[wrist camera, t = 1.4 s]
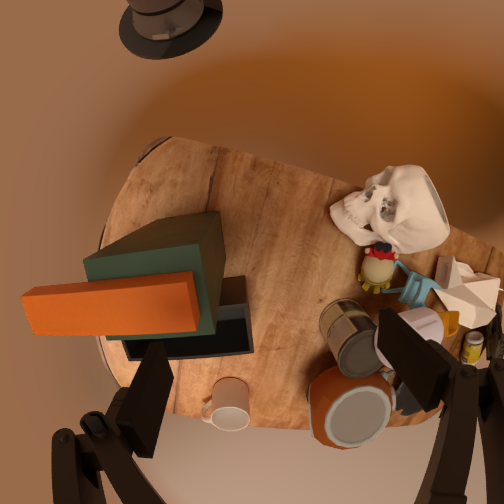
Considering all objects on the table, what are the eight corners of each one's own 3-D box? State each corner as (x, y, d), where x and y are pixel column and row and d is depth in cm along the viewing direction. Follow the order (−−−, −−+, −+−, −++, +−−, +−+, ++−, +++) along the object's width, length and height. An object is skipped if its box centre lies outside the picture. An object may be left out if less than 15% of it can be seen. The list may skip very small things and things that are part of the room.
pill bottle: (475, 344, 56) (466, 376, 59) (488, 336, 57) (480, 367, 59) (461, 334, 63) (454, 365, 65) (474, 327, 63) (468, 357, 66)
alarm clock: (301, 383, 45) (400, 366, 40) (311, 359, 62) (384, 346, 57) (312, 468, 42) (401, 454, 37) (320, 429, 58) (389, 418, 54)
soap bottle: (373, 313, 43) (436, 297, 54) (371, 365, 42) (435, 336, 54) (418, 316, 35) (469, 297, 46) (414, 374, 34) (467, 338, 46)
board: (444, 331, 62) (455, 340, 57) (449, 379, 67) (457, 388, 62) (378, 375, 63) (386, 387, 58) (391, 417, 68) (398, 427, 63)
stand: (164, 265, 54) (106, 340, 27) (156, 219, 51) (82, 259, 24) (226, 257, 54) (215, 334, 27) (219, 210, 52) (198, 243, 25)
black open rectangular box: (147, 327, 57) (128, 361, 44) (136, 287, 55) (112, 315, 42) (250, 318, 57) (254, 353, 45) (244, 275, 55) (247, 302, 42)
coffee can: (357, 290, 57) (387, 320, 43) (366, 328, 59) (394, 362, 46) (312, 310, 57) (332, 346, 44) (325, 347, 60) (345, 386, 46)
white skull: (320, 171, 49) (417, 135, 36) (367, 215, 62) (443, 193, 49) (323, 242, 44) (439, 212, 31) (371, 272, 57) (455, 255, 44)
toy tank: (497, 334, 63) (472, 339, 70) (501, 281, 51) (469, 289, 58) (500, 371, 55) (472, 376, 61) (509, 327, 43) (474, 335, 49)
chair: (406, 299, 58) (435, 322, 46) (380, 290, 57) (407, 314, 45) (420, 268, 56) (451, 286, 45) (394, 257, 55) (425, 275, 44)
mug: (211, 409, 63) (209, 439, 53) (193, 388, 61) (187, 418, 51) (254, 393, 62) (257, 424, 52) (237, 371, 60) (237, 401, 50)
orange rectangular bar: (46, 323, 26) (33, 334, 23) (35, 286, 25) (20, 296, 22) (200, 315, 26) (196, 331, 23) (192, 270, 25) (186, 282, 22)
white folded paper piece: (426, 322, 49) (503, 353, 43) (457, 256, 45) (531, 298, 39) (409, 294, 67) (477, 323, 61) (431, 242, 63) (498, 277, 57)
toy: (366, 225, 47) (360, 265, 59) (358, 261, 44) (353, 295, 56) (404, 233, 44) (391, 272, 56) (400, 270, 41) (385, 303, 53)
